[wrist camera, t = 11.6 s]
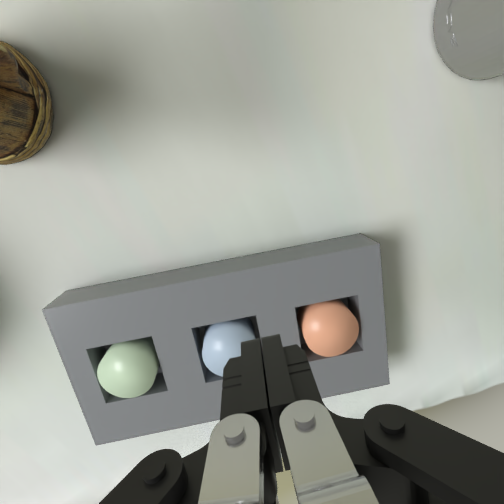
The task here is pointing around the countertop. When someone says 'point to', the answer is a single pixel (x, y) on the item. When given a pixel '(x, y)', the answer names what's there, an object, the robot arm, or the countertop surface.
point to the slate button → (225, 342)
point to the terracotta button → (328, 327)
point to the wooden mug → (22, 107)
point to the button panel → (210, 312)
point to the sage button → (129, 368)
